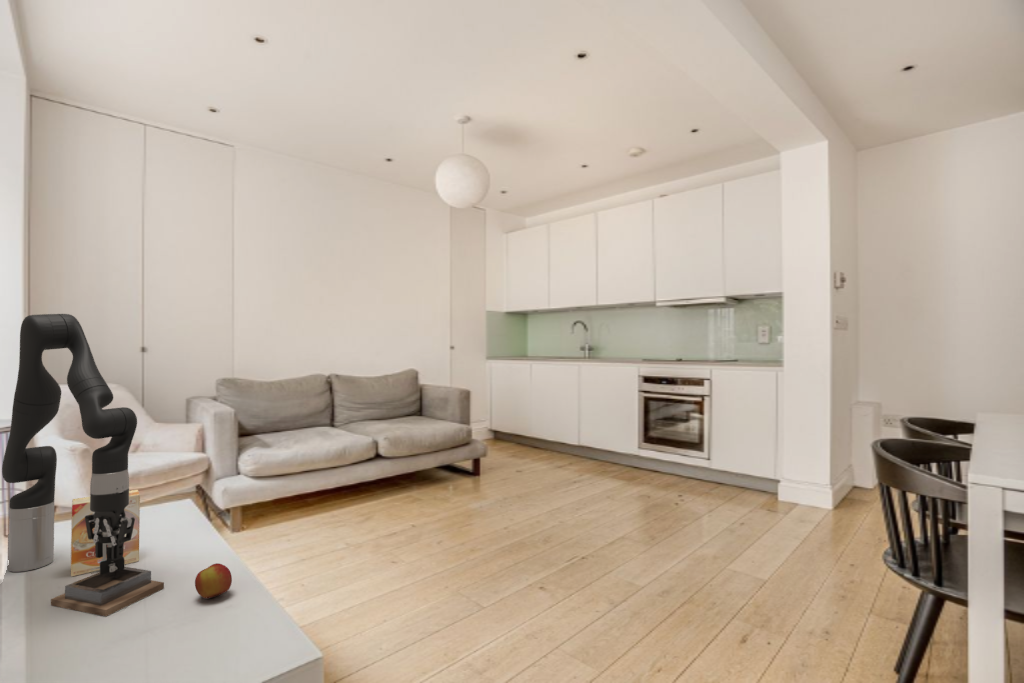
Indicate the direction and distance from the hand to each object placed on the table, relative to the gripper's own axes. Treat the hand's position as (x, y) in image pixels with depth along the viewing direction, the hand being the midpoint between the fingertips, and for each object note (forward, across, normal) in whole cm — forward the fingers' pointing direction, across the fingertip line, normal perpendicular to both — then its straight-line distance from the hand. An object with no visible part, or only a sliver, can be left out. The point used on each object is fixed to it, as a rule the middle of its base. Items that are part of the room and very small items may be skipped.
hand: (109, 557), depth 124 cm
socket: (+8, 0, 0) cm, 8 cm away
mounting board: (+10, 0, 0) cm, 10 cm away
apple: (+10, +25, +7) cm, 28 cm away
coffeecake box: (+10, -20, +13) cm, 26 cm away
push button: (+4, 0, 0) cm, 4 cm away
